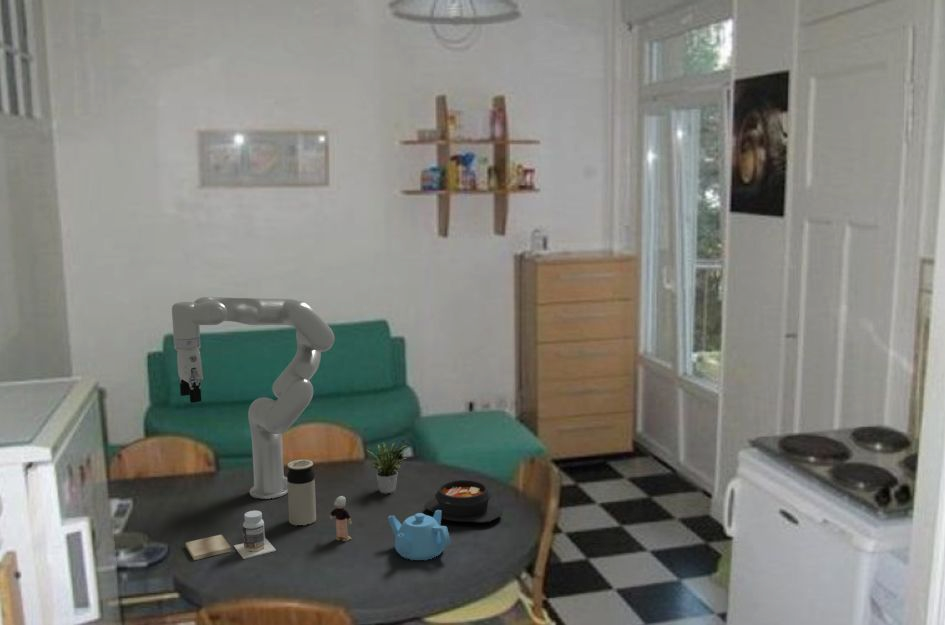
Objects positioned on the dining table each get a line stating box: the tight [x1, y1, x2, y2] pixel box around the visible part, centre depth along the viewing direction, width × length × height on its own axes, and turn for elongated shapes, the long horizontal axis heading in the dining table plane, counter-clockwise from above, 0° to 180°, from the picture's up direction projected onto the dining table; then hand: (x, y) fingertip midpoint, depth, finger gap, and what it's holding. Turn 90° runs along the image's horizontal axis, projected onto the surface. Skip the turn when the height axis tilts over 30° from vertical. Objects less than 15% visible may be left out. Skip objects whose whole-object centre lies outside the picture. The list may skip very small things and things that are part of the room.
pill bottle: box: [242, 510, 266, 551], centre depth 231 cm, size 6×6×10 cm
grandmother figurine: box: [329, 495, 353, 542], centre depth 237 cm, size 8×4×13 cm, turn 71°
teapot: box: [387, 510, 452, 561], centre depth 229 cm, size 15×15×11 cm
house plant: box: [365, 442, 409, 492], centre depth 272 cm, size 14×14×16 cm
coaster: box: [184, 534, 232, 561], centre depth 232 cm, size 10×10×1 cm
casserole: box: [424, 479, 503, 524], centre depth 254 cm, size 25×19×8 cm
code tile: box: [233, 537, 277, 560], centre depth 232 cm, size 9×9×1 cm
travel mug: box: [286, 459, 317, 526], centre depth 249 cm, size 8×8×18 cm
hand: (190, 398), depth 254 cm, fingers open, 9 cm apart
